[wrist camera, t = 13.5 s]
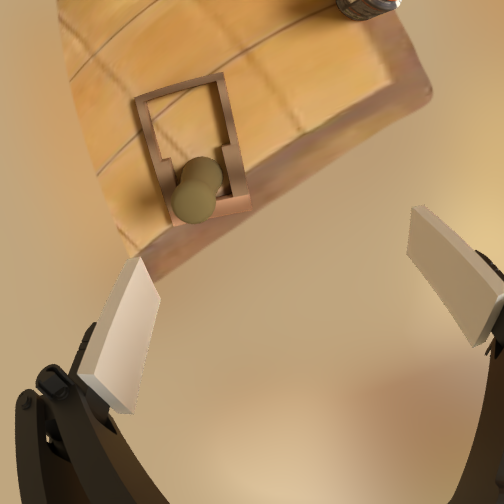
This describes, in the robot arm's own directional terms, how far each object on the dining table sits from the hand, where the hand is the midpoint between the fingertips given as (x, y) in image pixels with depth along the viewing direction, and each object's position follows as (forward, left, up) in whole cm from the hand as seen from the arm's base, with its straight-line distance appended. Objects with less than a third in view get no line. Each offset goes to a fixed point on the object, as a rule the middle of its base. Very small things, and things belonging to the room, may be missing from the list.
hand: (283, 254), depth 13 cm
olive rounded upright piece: (+4, -8, -29) cm, 30 cm away
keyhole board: (0, -8, -29) cm, 30 cm away
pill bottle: (-19, +18, -29) cm, 39 cm away
